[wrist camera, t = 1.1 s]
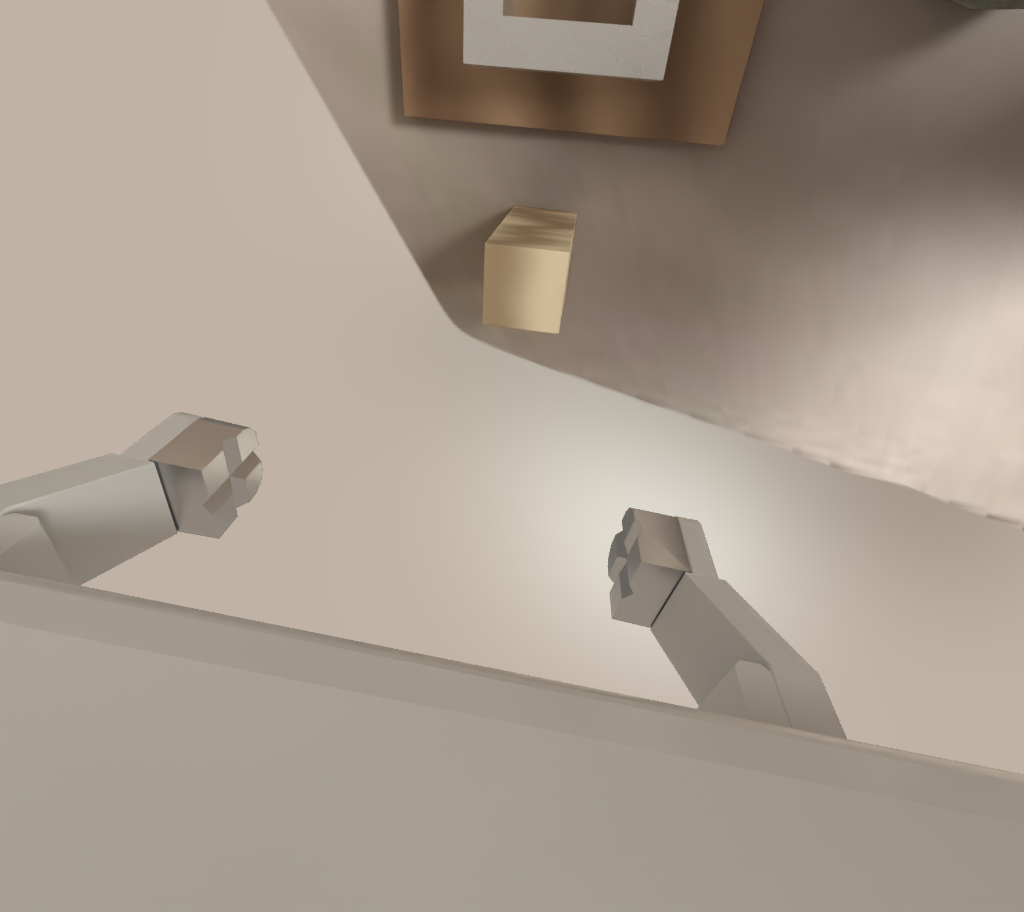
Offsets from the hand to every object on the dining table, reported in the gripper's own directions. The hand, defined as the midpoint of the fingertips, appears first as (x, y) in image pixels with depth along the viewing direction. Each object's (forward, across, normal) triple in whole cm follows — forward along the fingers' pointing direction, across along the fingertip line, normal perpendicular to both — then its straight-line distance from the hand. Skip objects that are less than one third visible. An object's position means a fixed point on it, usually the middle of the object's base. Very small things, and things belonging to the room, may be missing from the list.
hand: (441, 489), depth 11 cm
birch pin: (+30, -1, +1) cm, 30 cm away
